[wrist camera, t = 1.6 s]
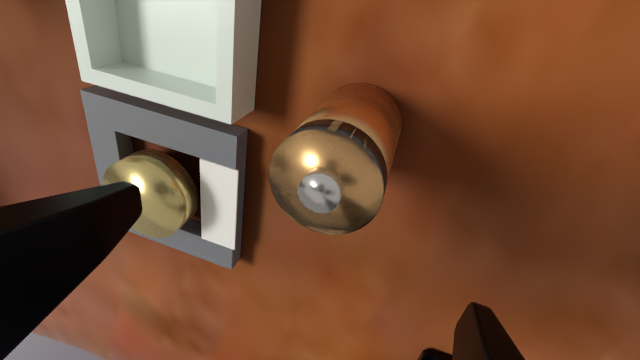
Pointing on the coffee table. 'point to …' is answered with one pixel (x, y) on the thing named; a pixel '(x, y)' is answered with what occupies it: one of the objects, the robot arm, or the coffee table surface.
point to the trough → (172, 51)
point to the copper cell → (338, 161)
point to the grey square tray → (188, 137)
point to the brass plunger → (157, 191)
